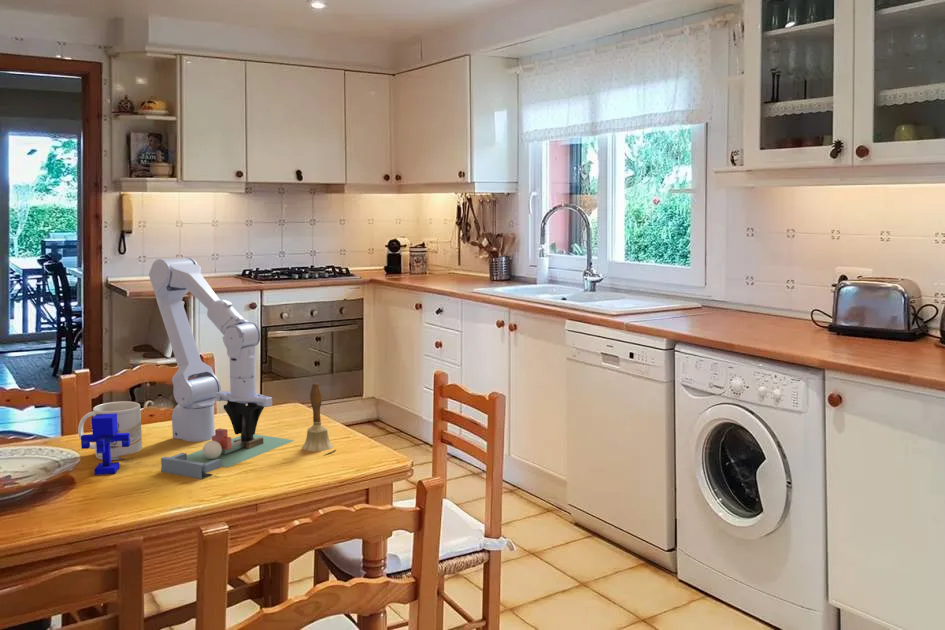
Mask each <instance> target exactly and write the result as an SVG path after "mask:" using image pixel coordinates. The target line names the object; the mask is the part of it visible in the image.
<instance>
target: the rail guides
mask: <svg viewBox="0 0 945 630" xmlns="http://www.w3.org/2000/svg"><path fill="white" fill-rule="evenodd" d="M240 440H241V438H240V439H237V440H234V442H237V441H240ZM261 444H263V438H262V437H259V438H256V439H254V440H251V441H248V442H246V449H251V448H253V447H256V446H259V445H261Z"/></svg>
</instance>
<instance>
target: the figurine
mask: <svg viewBox="0 0 945 630" xmlns="http://www.w3.org/2000/svg"><path fill="white" fill-rule="evenodd" d="M91 424H92V425H91V430H92V433H91V434H84V435H82V436H81V440H80V442H81V443H80V446H81V449H82V450H85V449H90V448H89V447H90V443H95V442H96V448H97V453H102V459H101V460H102V462H99V463H98V464H97V465H96V466H95V468H94V470H93V471H94V476H97V475H98V476H99V475H100V476H101V475H115V474H116V473H117V472H118V471H119V470H120V462H119V461H114V462H113V461H112V460H111V452H110V443H113V442H114V441H122V447H129V446H130V433H117V432H118V427H117V413H115V414H96V415H95V416H94V417H93V416H92V418H91Z"/></svg>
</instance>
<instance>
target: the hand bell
mask: <svg viewBox="0 0 945 630" xmlns="http://www.w3.org/2000/svg"><path fill="white" fill-rule="evenodd" d="M309 394H310V395H309V397H310V398H309V400H310V405H311V407H312V423H313V424H312V426H309V427H308V428H307V432H306V438H305V442H304V444H303V445H302V446H301V449H302V450H304V451H307V452H323V451H324V452H325V451H329V450H331V449H333V448H334V445H333V443H332V442H331V440H330V437H329V434H328V433H329V432H328V428H327V427H326V426H325V425H322V422H321V420H322V419H321V406H322V401H323V400H322V399H323V398H322V394H323V393H322V391H321V389H320V385H319V383H318V382H313V383H312V386H311V390H310V393H309ZM336 451H337V450H336V449H334V450H331V451H330V452H328V453H325V454H323V455H322V456H323V457H325V456H328V455H333V453H335V452H336Z"/></svg>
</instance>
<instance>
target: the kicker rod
mask: <svg viewBox="0 0 945 630" xmlns="http://www.w3.org/2000/svg"><path fill="white" fill-rule="evenodd" d="M240 425H241V433H240V436H241V440H240V441H237V442H234V443H231V439H232V437H230V436H228V429H226V428H225V429H224V428H221V427H220V428H217V429H215V435H214V436H212V439H211V441H216V442H218V443H219V444H220V445H221V447H222V452H221V454H224V455H225V454H228V453H230V452H233V451H236V450H238V449H241V448H244V447H246V442H248V441H251V440H254V439H255V438H253V435H251V436H247V435H246V426H245V418H244V415H243V413H241V414H240Z"/></svg>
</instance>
